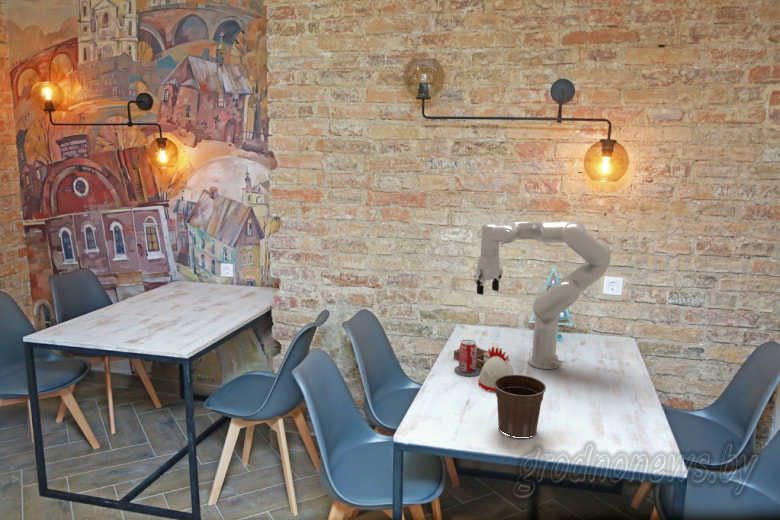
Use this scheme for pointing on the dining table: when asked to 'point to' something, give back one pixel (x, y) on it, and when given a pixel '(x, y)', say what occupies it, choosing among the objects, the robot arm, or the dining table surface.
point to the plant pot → (519, 404)
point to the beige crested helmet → (494, 369)
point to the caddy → (479, 357)
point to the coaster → (474, 373)
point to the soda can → (468, 356)
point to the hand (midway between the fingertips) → (487, 292)
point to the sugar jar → (486, 356)
